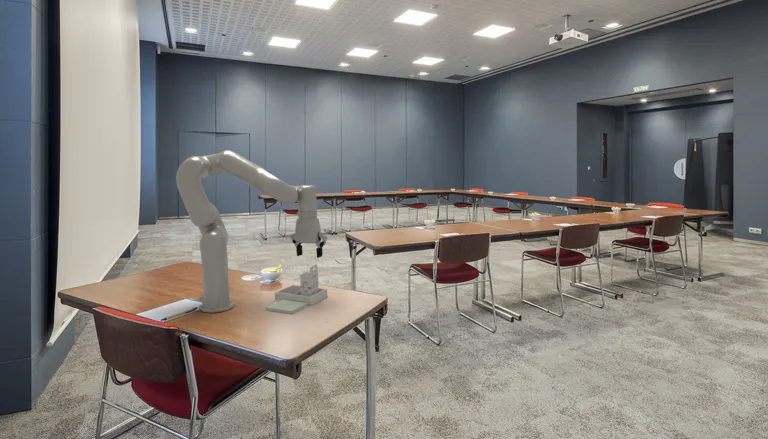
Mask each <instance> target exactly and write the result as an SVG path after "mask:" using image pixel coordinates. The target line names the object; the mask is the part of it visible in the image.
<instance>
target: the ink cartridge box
mask: <svg viewBox="0 0 768 439" xmlns="http://www.w3.org/2000/svg"><path fill="white" fill-rule="evenodd" d="M299 278H300V279H299V280H300V286H301V295H303V296H312V295H314V294H316V293H318V292H319V289H318V288H319V270H318V264H317V263H316V264H314V265H312V266H311V267H310V268H309V270H306V271H304V272H303V273H301V274H300V275H299Z"/></svg>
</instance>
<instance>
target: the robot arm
mask: <svg viewBox="0 0 768 439" xmlns="http://www.w3.org/2000/svg"><path fill="white" fill-rule="evenodd" d="M223 174H228V175H229V176H232V177H233V178H235V179H236V180H239V181H241V182H243V183H244V184H246V185H248V186H250V187H251V188H253V189H255V190H258V191H259V192H261V193H263V194H265V195H267V196H268V197H271V198H272V199H274V200H276V201H278V202H280V203H282V204H284V205H287V206H289V205H290V206H291V205H293V204H295V203H297V210H298V211H297V212H296V216H297V217H298V218H296V223H295V232H294V233H293V234H291V235H290V239H291V241H292V243H293V245H294V247H295V248H296V249H295V250H296V257H300V256H303V245H302V244H315V246H316V258H321V257H323V254H324V253H323V247H324V246H325V245H326V243H327V241H328V236H326V235H325V234H324V233H322V231H321V224H320V220H319V218H318V208H317V206H318V205H317V203H318V202H317V189H316V186H315V185H312V184H302V185H291V184H288V183H286V182H285V181H283V180H281V179H280V178H278V177H276V176H275V175H273V174H271V173H270V172H268V171H267V170H266V169H265V168H263V167H261V166H260V165H257V164H256V163H254V162H253V161H250V160H248V159H247V158H245V157H244V156H242V155H240V154H239V153H236V151H233V150H230V149H225V150H222V151H221V152H219V153H214V154H213V153H212V154H207V155H202V156H201V155H200V156H199V155H192V156H190V157H187V158H186V159H185V160H184V161H183V162H181V164H180V165H179V167H178V169H177V171H176V176H175V184H176V187H177V190H178V192H179V195H180V197H181V199H182V202H183V205H184V208H185V209H186V211H187V213H188V217H189V219H190V221H191V222H192V224H193V225H194V226H195V227H197V228H198V230H199V231H200V233H201V236H200V239H199V251H200V256H201V257H200V258H201V259H200V260H201V271H202V287H203V294H202V295H200V297H198V300H197V301H198V302H202V304H201V305H200V307H199V310H200V311H201V312H203V313H209V314H211V313H220V312H225V311H229V310H232V309H233V308H234V306H235V303H234V301H232V300H231V297H230V278H229V262H228V261H229V260H228V247H227V245H228V242H229V234H228V230H227V228H226V226H225V224H224V222H223V220H222V217H221V214H220V213H219V210H218V208H217V207H216V205H214V204H213V203H212V202H210V200H209V198H208V196H207V194H206V191H205V189H204V187H203V185H202V179H205V178H210V177H214V176H219V175H223Z"/></svg>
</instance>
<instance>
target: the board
mask: <svg viewBox="0 0 768 439" xmlns="http://www.w3.org/2000/svg"><path fill="white" fill-rule="evenodd" d="M307 307H308V305H307V303H302V302H295V301H288V300H281V301H277V302H275V303H272V304H270V305H268V306H267V307H265V308H266V309H265V310H266V311H269V312H276V313H282V314H287V315H288V314H289V315H293V314H295V313H297V312H298V311H301V310H302V309H304V308H307Z"/></svg>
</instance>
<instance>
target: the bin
mask: <svg viewBox="0 0 768 439" xmlns="http://www.w3.org/2000/svg"><path fill="white" fill-rule="evenodd" d="M318 289H319V292H318V293H316V294H314V295H312V296H303V295H301V285H297V284H291V285H288V286H286V287H284V288H281V289H279V290H277V291H275V292H274V301H277V302H279V301H281V300H288V301H295V302H302V303H307V306H313V305H315V304H316V303H318V302H320V301H322V300H324V299H327V298H328V288H321V287H318Z"/></svg>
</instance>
